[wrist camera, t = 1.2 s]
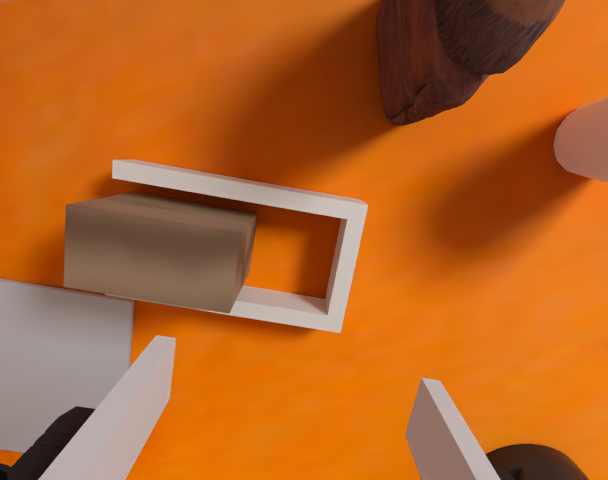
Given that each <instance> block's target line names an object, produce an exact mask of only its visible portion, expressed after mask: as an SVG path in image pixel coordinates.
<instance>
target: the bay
mask: <svg viewBox="0 0 608 480" xmlns="http://www.w3.org/2000/svg"><path fill="white" fill-rule="evenodd" d="M112 178H114V179H120V180H125V181H131V182H137V183H143V184H148V185H154V186H160V187H165V188H171V189H177V190H183V191H188V192H194V193H200V194H205V195H211V196H217V197H223V198H228V199H234V200H240V201H245V202H251V203H257V204H263V205H268V206H274V207H280V208H285V209H291V210H297V211H303V212H308V213H314V214H320V215H325V216H331V217H337V218H341V222H340V227H339V232H338V237H337V242H336V247H335V252H334V257H333V262H332V267H331V271H330V276H329V281H328V286H327V291H326V296H325V299H324V298H317V297H311V296H305V295H299V294H293V293H287V292H281V291H275V290H269V289H263V288H257V287H251V286H245V285H243V286H242V288H241V290H240V292H239V294H238V297H237V299H236V301H235V303H234V305H233V307H232V309H231V311H230V314H228V313H222V312H216V311H210V310H203V309H197V308H191V307H185V306H179V305H173V304H166V303H160V302H154V301H148V300H142V299H136V298H129V297H123V296H117V295H111V294H105V295H108V296H114V297H121V298H127V299H133V300H139V301H145V302H152V303H158V304H164V305H170V306H176V307H182V308H189V309H195V310H201V311H207V312H213V313H220V314H226V315H232V316H238V317H244V318H250V319H257V320H263V321H269V322H275V323H281V324H288V325H294V326H300V327H306V328H312V329H318V330H325V331H331V332H337V333H341V328H342V324H343V319H344V315H345V310H346V305H347V301H348V296H349V292H350V287H351V282H352V278H353V273H354V269H355V264H356V259H357V255H358V250H359V246H360V241H361V236H362V232H363V227H364V223H365V218H366V213H367V209H368V205H367V204H366V203H365V202H363V201H362V200H359V199H354V198H348V197H343V196H337V195H331V194H326V193H320V192H314V191H309V190H303V189H298V188H292V187H286V186H281V185H275V184H269V183H264V182H258V181H253V180H247V179H241V178H236V177H230V176H224V175H219V174H213V173H207V172H202V171H196V170H191V169H185V168H179V167H174V166H168V165H162V164H157V163H151V162H146V161H140V160H113V167H112Z"/></svg>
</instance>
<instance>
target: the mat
mask: <svg viewBox="0 0 608 480" xmlns="http://www.w3.org/2000/svg"><path fill="white" fill-rule="evenodd" d="M134 309H135V300H131V299H125V298H119V297H113V296H106V295H100V294H94V293H88V292H82V291H75V290H69V289H63V288H57V287H51V286H45V285H38V284H32V283H26V282H20V281H14V280H7V279H1V278H0V449H1V450H8V451H15V452H22V453H25V452H26V451H27V450H28V449H29V448H30V447H31V446H33V444H34V442H35V441H36V440H37V439H38V438H39V437H40V436H41V435H42V434H44V433H45V431H46V430H47V428H48V427H49V426H50V425H51V424H52V423H53V422H54V421H55V420H56V419H57V418H58V417H59V416H61V415H62V414H64V413H66V412H67V411H69V410H71V409H72V408H74V407H76V406H79V407H86V408H93V409H96V408H97V407H98V406H99V405H100V404H101V402H102V401H103V400H104V399H105V397H106V396H107V395H108V394H109V393H110V391H111V390H112V389H113V388H114V386H115V385H116V384H117V383H118V382H119V380H120V379H121V378H122V377H123V375H124V374H125V373H126V372H127V371H128V369H129V368H130V361H131V348H132V335H133V322H134Z"/></svg>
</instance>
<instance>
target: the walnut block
mask: <svg viewBox="0 0 608 480" xmlns="http://www.w3.org/2000/svg"><path fill="white" fill-rule="evenodd" d="M257 217H258V213H254V212H248V211H242V210H237V209H231V208H225V207H219V206H214V205H208V204H202V203H196V202H191V201H185V200H179V199H174V198H168V197H162V196H156V195H151V194H145V193H139V192H128V193H123V194H118V195H113V196H108V197H103V198H98V199H93V200H88V201H83V202H78V203H73V204H68V205H66V219H65V253H64V287H68V288H74V289H80V290H86V291H92V292H98V293H105V294H111V295H117V296H123V297H129V298H136V299H142V300H148V301H154V302H160V303H166V304H173V305H179V306H185V307H191V308H197V309H203V310H210V311H216V312H222V313H228V314H230V311H231V309H232V307H233V305H234V303H235V301H236V299H237V297H238V294H239V292H240V290H241V288H242V286H243V284H244V282H245V280H246V278H247V275H248V273H249V270H250V263H251V257H252V250H253V243H254V237H255V230H256V223H257Z"/></svg>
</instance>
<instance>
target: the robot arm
mask: <svg viewBox="0 0 608 480" xmlns="http://www.w3.org/2000/svg"><path fill="white" fill-rule="evenodd" d="M175 344H176V338H171V337H165V336H159V335H156V336H155V338H154V339H153V340H152V341H151V342H150V344H149V345H148V346H147V347H146V349H145V350H144V351H143V352H142V353H141V355H140V356H139V357H138V358H137V360H136V361H135V362H134V363H133V364H132V366H131V367H130V368H129V369H128V371H127V372H126V373H125V374H124V375H123V377H122V378H121V379H120V380H119V382H118V383H117V384H116V385H115V386H114V388H113V389H112V390H111V391H110V393H109V394H108V395H107V396H106V397H105V399H104V400H103V401H102V402H101V404H100V405H99V406H98V407H97V408H96V409H93V408H86V407H79V406H76V407H74V408H72V409H71V410H69V411H67V412H66V413H64V414H62V415H61V416H59V417H58V418H57V419H56V420H55V421H54V422H53V423H52V424H51V425H50V426H49V427H48V428H47V430H46V431H45V433H44V434H42V435H41V436H40V437H39V438H38V439H37V440H36V441H35V442H34V444H33V446H31V447H30V448H29V449H28V450H27V451H26V452H25V453H24V454H23V455H22V456H21V457H20V458H19V459H18V460H17V462H16V463H15V464H14V465H13V466H12V467H10V466H8V465H5V464H0V480H125V479H126V477H127V475H128V474H129V472H130V470H131V468H132V466H133V464H134V463H135V461H136V459H137V457H138V455H139V454H140V452H141V450H142V448H143V446H144V444H145V443H146V441H147V439H148V437H149V435H150V434H151V432H152V430H153V428H154V426H155V424H156V423H157V421H158V419H159V417H160V415H161V413H162V412H163V410H164V408H165V406H166V404H167V403H168V401H169V399H170V390H171V381H172V371H173V362H174V353H175ZM405 436H406V439H407V441H408V444H409V447H410V449H411V452H412V455H413V458H414V460H415V463H416V466H417V469H418V471H419V474H420V477H421V479H422V480H589V479H588V478H587V476H586V475H585V474H584V473H583V472H582V471H581V470H580V468H579V467H578V466H577V465H576V464H575V463H574V462H573V461H572V460H571V459H570V458H569V457H568V456H566V455H565V454H563V453H562V452H560V451H558V450H555V449H553V448H550V447H546V446H542V445H533V444H523V445H515V446H510V447H506V448H503V449H500V450H497V451H495V452H493V453H490V454H489V455H487V456H486V455H485V453H484V452H483V450H482V448H481V447H480V445H479V443H478V442H477V440H476V439H475V437H474V435H473V434H472V432H471V430H470V429H469V427H468V426H467V424H466V422H465V421H464V419H463V417H462V416H461V414H460V412H459V411H458V409H457V408H456V406H455V404H454V403H453V401H452V399H451V398H450V396H449V394H448V393H447V391H446V390H445V388H444V386H443V385H442V383H441V381H440V380H434V379H427V378H421V381H420V385H419V388H418V392H417V395H416V399H415V402H414V406H413V409H412V413H411V416H410V420H409V423H408V427H407V430H406V434H405Z"/></svg>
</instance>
